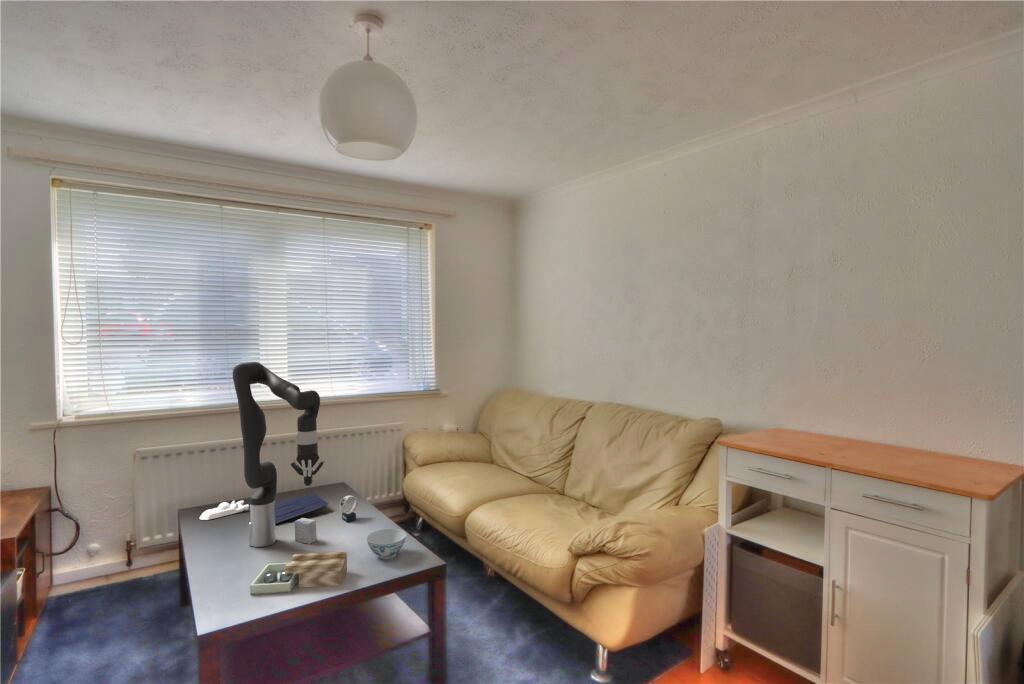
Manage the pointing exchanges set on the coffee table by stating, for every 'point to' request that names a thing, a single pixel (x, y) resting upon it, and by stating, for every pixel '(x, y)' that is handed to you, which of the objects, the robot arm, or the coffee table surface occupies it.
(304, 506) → the blue flat panel
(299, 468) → the robot arm
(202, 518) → the plane toy
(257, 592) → the tray
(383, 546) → the chinaware
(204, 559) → the coffee table surface
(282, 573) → the puck
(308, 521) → the medicine box
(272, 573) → the puck
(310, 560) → the slotted board
